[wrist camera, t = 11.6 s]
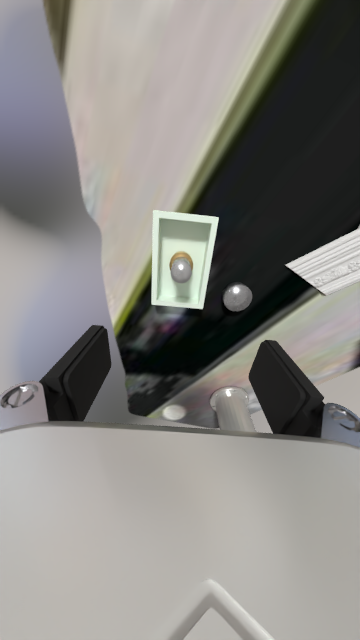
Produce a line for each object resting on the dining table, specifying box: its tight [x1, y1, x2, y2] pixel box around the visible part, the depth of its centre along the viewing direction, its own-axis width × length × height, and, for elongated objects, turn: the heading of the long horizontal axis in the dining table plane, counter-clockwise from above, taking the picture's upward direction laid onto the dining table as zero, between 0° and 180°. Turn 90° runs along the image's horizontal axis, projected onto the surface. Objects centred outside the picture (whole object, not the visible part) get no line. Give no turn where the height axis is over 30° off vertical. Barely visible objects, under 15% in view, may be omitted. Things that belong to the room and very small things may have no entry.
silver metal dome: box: [222, 282, 252, 311], centre depth 38 cm, size 6×6×2 cm
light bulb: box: [169, 251, 193, 283], centre depth 31 cm, size 5×5×9 cm
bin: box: [152, 210, 219, 309], centre depth 34 cm, size 17×11×4 cm, turn 175°
